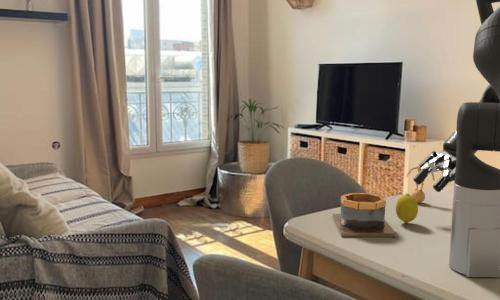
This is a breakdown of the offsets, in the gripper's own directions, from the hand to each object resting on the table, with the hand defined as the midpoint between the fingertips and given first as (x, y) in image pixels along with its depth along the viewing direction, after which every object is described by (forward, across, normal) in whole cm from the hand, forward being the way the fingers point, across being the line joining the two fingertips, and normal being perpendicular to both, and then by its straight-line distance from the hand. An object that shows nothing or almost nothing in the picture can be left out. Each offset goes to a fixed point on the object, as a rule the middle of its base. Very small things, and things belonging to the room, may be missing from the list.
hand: (425, 186), depth 129 cm
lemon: (+11, 0, +3) cm, 11 cm away
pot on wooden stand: (+19, -1, -6) cm, 20 cm away
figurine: (-1, -18, +15) cm, 23 cm away
